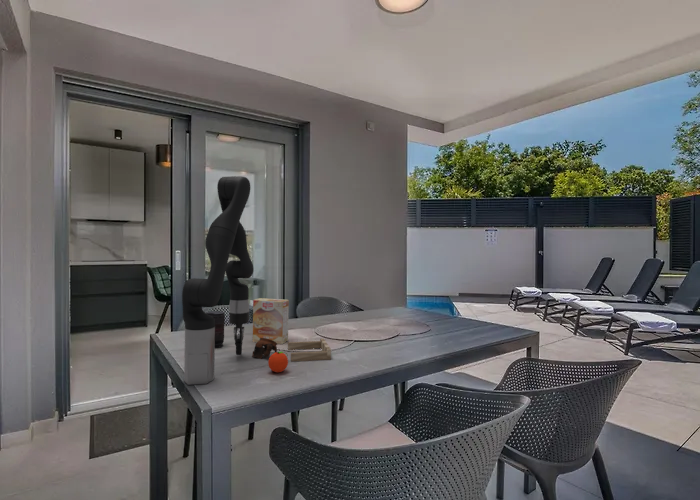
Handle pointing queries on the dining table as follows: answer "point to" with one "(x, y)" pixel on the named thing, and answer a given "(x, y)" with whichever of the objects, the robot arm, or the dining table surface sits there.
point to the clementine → (278, 361)
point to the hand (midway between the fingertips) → (238, 354)
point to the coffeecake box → (270, 319)
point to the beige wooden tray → (310, 356)
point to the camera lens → (218, 326)
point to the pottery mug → (264, 348)
